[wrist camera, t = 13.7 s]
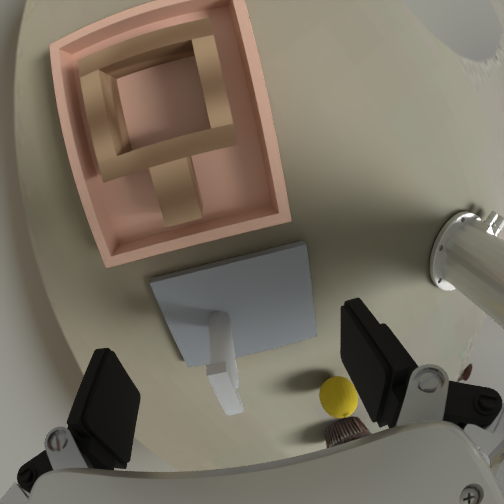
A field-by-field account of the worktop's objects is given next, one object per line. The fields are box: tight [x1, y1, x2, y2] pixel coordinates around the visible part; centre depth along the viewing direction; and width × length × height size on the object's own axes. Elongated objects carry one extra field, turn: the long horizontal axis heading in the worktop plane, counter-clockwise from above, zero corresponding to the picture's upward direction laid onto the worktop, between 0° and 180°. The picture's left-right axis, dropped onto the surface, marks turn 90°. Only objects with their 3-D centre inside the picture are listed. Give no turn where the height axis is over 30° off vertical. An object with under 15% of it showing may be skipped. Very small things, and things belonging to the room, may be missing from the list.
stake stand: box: [150, 240, 317, 416], centre depth 28 cm, size 17×13×12 cm
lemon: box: [319, 376, 358, 418], centre depth 38 cm, size 6×6×8 cm
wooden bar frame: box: [77, 18, 238, 228], centre depth 22 cm, size 16×11×5 cm
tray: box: [50, 0, 291, 268], centre depth 23 cm, size 23×18×4 cm
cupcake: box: [325, 417, 372, 448], centre depth 45 cm, size 10×10×10 cm
